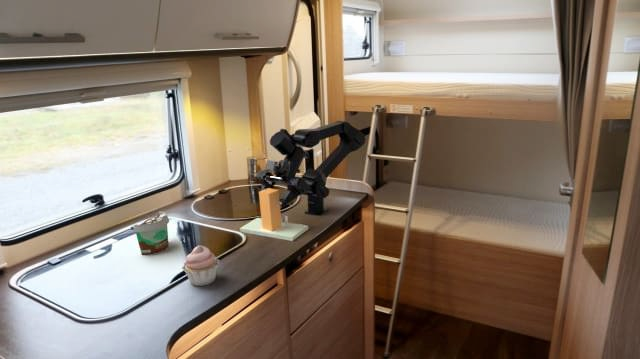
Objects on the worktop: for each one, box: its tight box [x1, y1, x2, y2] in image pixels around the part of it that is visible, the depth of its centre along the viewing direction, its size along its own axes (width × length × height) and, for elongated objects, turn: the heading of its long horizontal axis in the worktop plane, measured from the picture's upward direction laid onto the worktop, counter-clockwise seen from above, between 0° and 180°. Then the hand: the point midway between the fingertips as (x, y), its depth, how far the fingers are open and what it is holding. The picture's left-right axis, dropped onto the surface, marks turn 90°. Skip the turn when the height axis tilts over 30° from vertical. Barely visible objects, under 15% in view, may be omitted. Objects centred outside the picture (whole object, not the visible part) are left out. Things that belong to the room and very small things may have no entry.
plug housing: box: [258, 188, 282, 232], centre depth 145 cm, size 4×4×13 cm
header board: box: [239, 215, 309, 242], centre depth 147 cm, size 10×20×4 cm, turn 62°
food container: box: [133, 211, 170, 256], centre depth 137 cm, size 12×6×10 cm, turn 161°
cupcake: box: [181, 245, 220, 287], centre depth 116 cm, size 9×9×10 cm
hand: (271, 204), depth 145 cm, fingers open, 9 cm apart
